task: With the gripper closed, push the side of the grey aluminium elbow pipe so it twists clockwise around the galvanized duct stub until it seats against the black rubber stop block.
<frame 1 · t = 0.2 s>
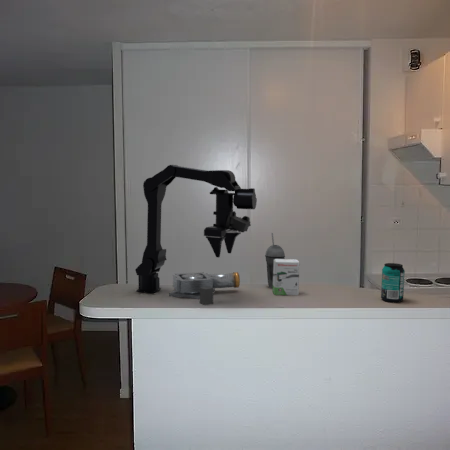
hand: (223, 255, 166), 14 cm above the countertop, fingers open, 9 cm apart
beverage can: (391, 300, 166), on the countertop
beverage cup: (274, 287, 183), on the countertop
elbow: (206, 281, 173), point 4 cm above the countertop, hinge at 35.0°
stop block: (206, 303, 160), on the countertop
ink box: (285, 294, 174), on the countertop
duct stub: (192, 293, 172), on the countertop
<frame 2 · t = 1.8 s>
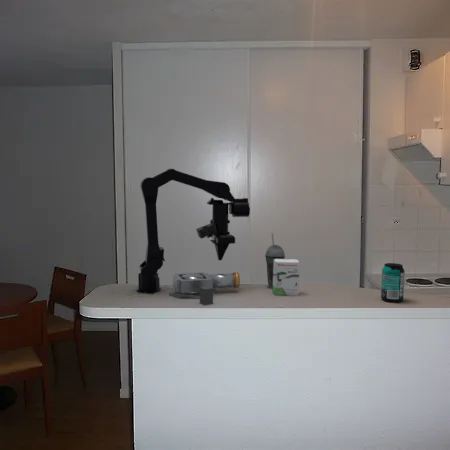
hand: (219, 260, 181), 10 cm above the countertop, fingers closed
nothing on the countertop moved.
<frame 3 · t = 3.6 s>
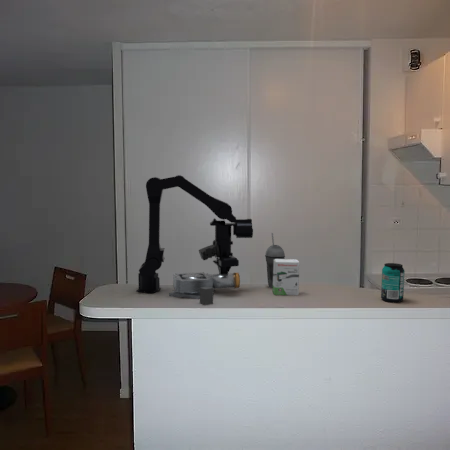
hand: (222, 281, 178), 3 cm above the countertop, fingers closed
elbow: (206, 281, 173), point 4 cm above the countertop, hinge at 32.8°, touching gripper
everything else where it was.
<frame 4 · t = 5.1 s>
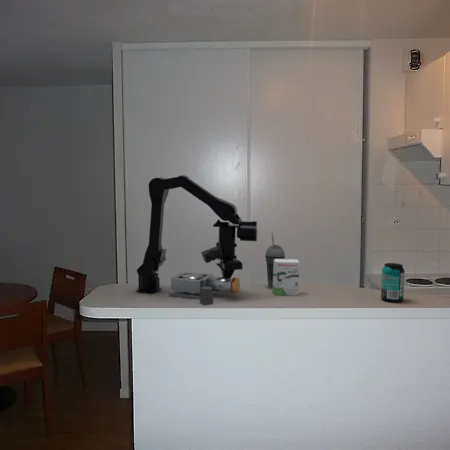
hand: (225, 284, 172), 3 cm above the countertop, fingers closed
elbow: (206, 283, 170), point 4 cm above the countertop, hinge at 1.3°, touching gripper
everything else where it was.
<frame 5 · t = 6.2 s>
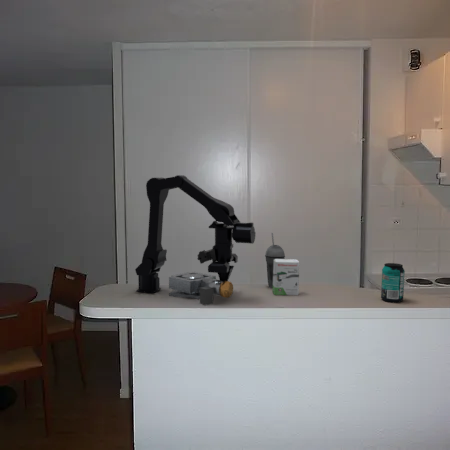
hand: (223, 287, 168), 3 cm above the countertop, fingers closed
elbow: (202, 284, 169), point 4 cm above the countertop, hinge at -22.0°, touching gripper
everything else where it was.
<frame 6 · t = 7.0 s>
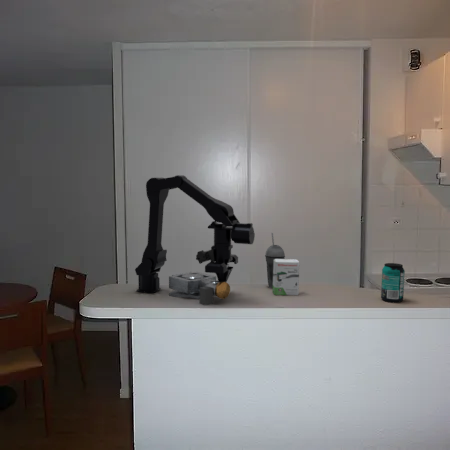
hand: (222, 288, 166), 3 cm above the countertop, fingers closed
elbow: (201, 284, 168), point 4 cm above the countertop, hinge at -28.0°, touching gripper
everything else where it was.
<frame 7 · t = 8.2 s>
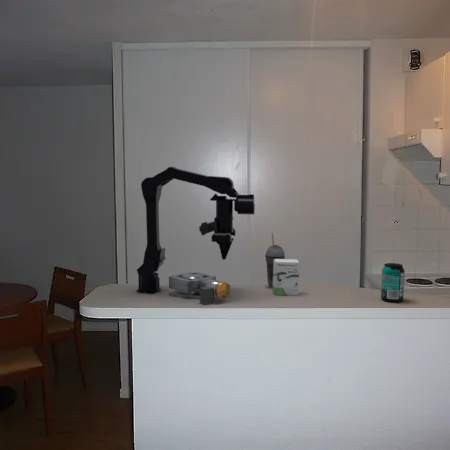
hand: (224, 259, 172), 12 cm above the countertop, fingers closed
elbow: (201, 284, 168), point 4 cm above the countertop, hinge at -28.0°
everything else where it was.
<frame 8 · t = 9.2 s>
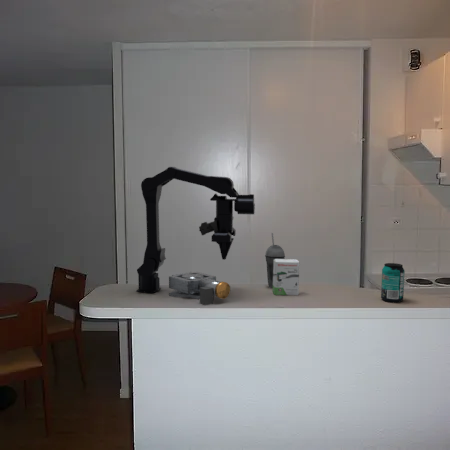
hand: (224, 259, 172), 12 cm above the countertop, fingers closed
nothing on the countertop moved.
at the end: elbow at -28° (first picture: +35°); elbow touching nothing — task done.
